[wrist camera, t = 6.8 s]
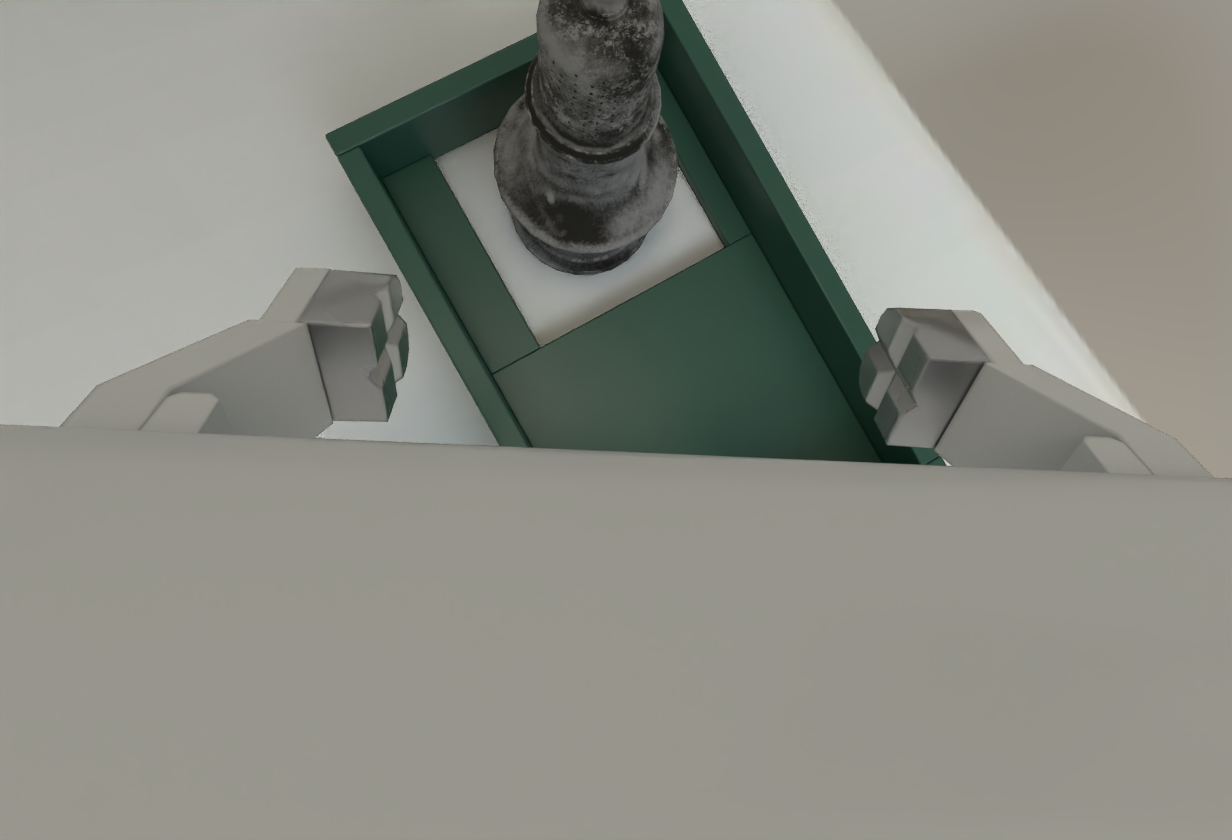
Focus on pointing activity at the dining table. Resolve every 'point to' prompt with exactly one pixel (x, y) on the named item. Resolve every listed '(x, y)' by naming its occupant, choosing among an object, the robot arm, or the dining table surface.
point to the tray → (653, 320)
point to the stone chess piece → (588, 136)
